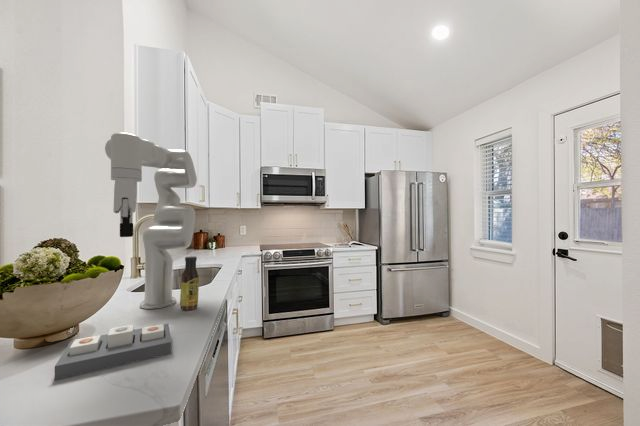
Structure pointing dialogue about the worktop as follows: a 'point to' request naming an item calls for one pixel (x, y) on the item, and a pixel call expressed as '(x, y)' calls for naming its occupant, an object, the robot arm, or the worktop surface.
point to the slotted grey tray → (112, 354)
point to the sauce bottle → (189, 285)
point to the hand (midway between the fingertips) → (126, 236)
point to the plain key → (120, 336)
